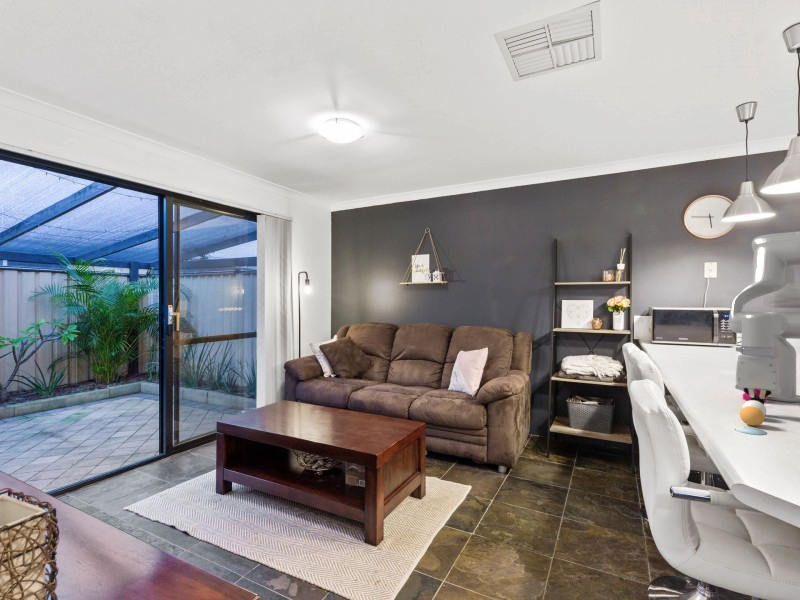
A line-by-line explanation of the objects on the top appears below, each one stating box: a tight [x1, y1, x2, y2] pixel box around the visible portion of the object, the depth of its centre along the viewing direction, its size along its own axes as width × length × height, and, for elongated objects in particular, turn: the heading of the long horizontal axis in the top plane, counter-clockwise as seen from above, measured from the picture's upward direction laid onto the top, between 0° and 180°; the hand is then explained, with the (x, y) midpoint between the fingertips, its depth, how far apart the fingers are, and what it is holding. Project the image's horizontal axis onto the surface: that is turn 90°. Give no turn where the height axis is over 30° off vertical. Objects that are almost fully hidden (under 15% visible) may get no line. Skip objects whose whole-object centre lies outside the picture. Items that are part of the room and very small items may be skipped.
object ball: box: [739, 406, 766, 427], centre depth 117 cm, size 6×6×6 cm
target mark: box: [735, 425, 767, 436], centre depth 112 cm, size 7×7×1 cm
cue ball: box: [742, 400, 767, 416], centre depth 123 cm, size 6×6×6 cm
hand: (757, 409), depth 127 cm, fingers closed
